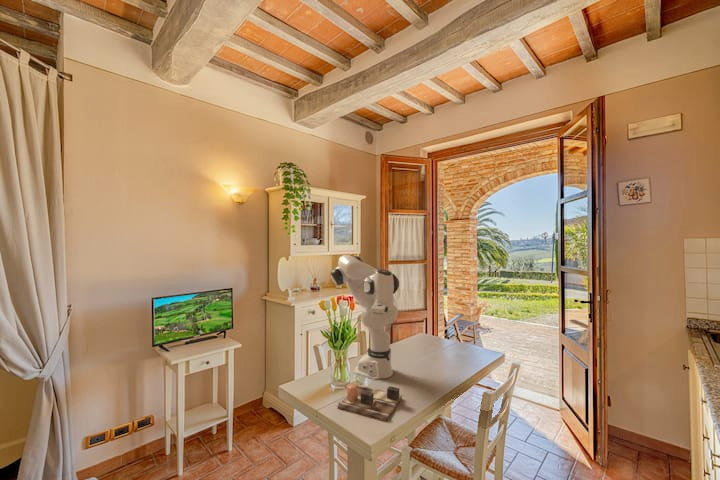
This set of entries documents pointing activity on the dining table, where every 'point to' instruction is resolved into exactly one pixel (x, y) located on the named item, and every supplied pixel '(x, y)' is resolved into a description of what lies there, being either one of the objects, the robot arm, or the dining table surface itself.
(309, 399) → the dining table surface
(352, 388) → the orange rounded piece
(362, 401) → the strip
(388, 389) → the strip
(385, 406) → the lane board
